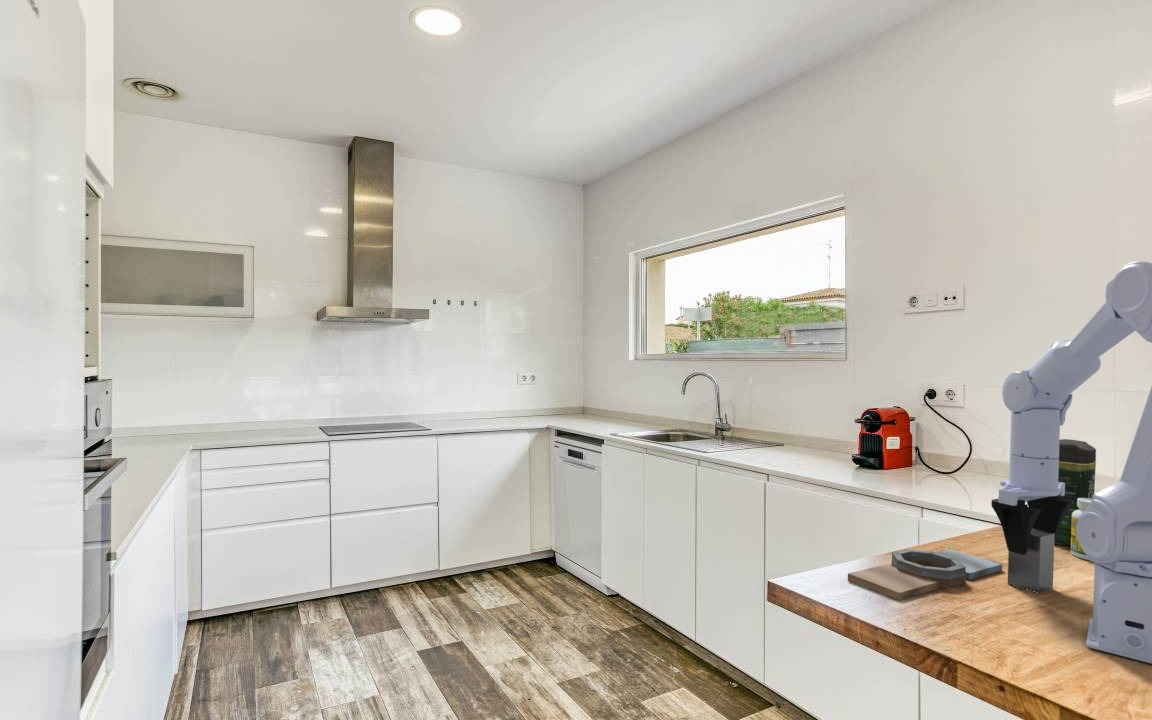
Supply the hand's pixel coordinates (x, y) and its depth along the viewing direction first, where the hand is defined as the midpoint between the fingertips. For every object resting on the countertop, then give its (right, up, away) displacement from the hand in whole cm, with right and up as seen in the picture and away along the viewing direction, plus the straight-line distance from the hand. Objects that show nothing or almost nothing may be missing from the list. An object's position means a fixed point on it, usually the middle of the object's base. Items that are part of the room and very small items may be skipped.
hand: (1030, 548), depth 89 cm
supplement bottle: (+20, -6, +14) cm, 25 cm away
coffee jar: (+23, -6, +23) cm, 33 cm away
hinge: (-13, -5, +4) cm, 14 cm away
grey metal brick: (0, -5, 0) cm, 5 cm away
